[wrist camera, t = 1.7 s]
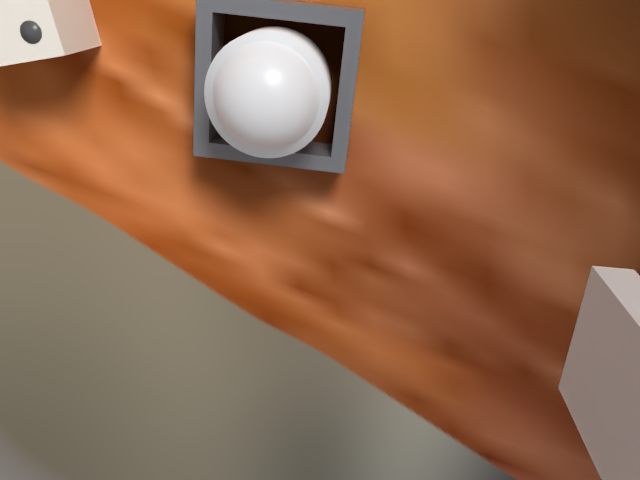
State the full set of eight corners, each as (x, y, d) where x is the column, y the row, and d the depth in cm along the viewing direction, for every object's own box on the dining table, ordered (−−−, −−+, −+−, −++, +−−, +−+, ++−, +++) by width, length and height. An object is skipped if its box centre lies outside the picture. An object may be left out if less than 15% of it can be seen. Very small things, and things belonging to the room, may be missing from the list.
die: (-7, -32, 28) (-63, -33, 24) (76, -48, 27) (31, -51, 24) (24, 58, 29) (-25, 70, 26) (102, 45, 29) (64, 55, 25)
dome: (222, 19, 26) (196, 27, 22) (338, 32, 26) (333, 43, 22) (218, 133, 28) (193, 161, 24) (326, 146, 28) (319, 175, 24)
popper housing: (209, -10, 28) (196, -8, 25) (364, 8, 27) (364, 11, 25) (205, 142, 30) (193, 155, 28) (345, 159, 30) (344, 173, 28)
